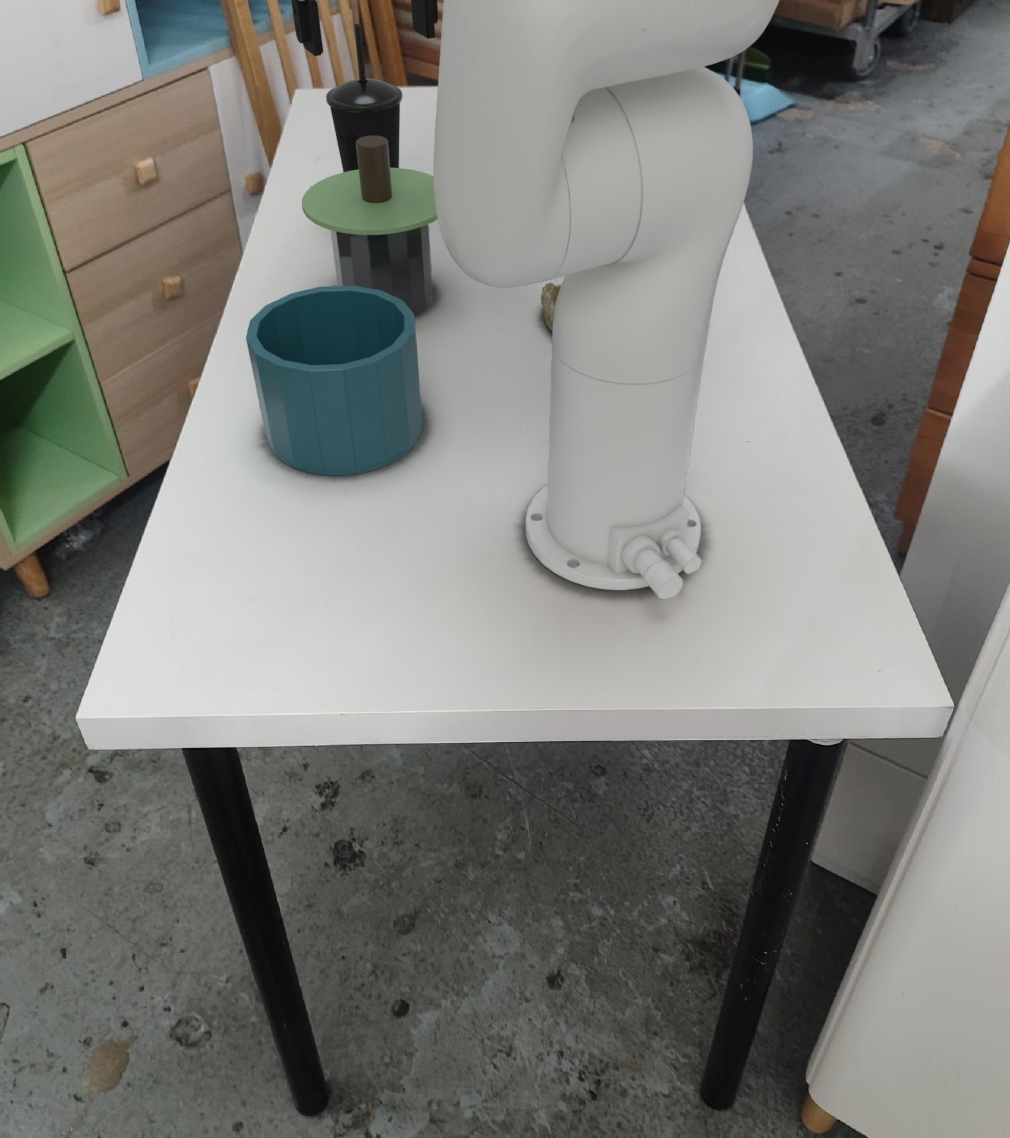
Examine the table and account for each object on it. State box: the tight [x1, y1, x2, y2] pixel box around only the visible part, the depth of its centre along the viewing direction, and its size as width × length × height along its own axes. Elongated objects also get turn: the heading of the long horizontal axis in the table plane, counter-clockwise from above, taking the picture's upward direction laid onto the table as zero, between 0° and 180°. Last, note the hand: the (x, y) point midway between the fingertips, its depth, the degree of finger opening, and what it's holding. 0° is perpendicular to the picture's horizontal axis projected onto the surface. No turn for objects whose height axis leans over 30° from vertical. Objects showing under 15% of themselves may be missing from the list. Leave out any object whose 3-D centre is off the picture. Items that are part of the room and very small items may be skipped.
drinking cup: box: [325, 23, 403, 173], centre depth 105 cm, size 8×8×20 cm
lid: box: [301, 136, 438, 235], centre depth 92 cm, size 14×14×6 cm
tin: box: [245, 285, 423, 477], centre depth 81 cm, size 13×13×10 cm
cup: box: [330, 223, 434, 316], centre depth 97 cm, size 9×9×9 cm
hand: (369, 42), depth 84 cm, fingers open, 9 cm apart
